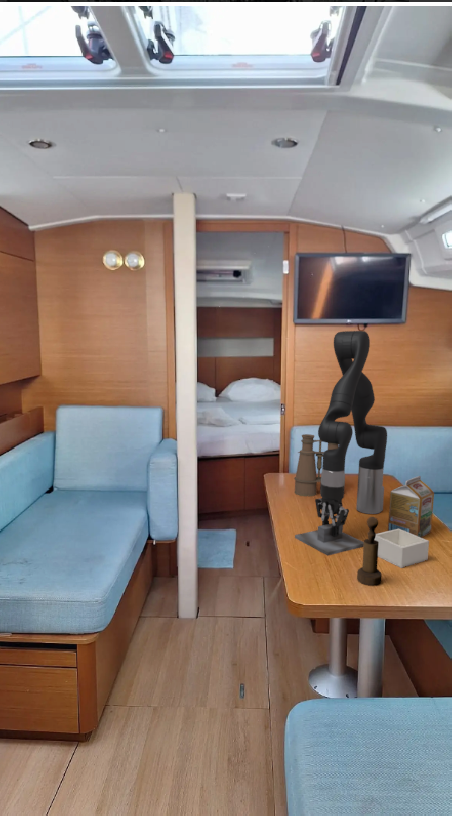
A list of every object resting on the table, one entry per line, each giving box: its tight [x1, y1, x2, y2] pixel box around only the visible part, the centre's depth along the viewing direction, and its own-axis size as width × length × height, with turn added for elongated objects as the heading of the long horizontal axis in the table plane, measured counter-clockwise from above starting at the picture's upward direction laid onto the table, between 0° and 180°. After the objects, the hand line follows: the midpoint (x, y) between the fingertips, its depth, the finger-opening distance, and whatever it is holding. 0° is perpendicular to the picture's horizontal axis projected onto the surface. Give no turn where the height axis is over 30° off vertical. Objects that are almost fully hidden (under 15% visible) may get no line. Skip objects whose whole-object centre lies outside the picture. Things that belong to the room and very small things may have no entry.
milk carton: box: [387, 475, 435, 538], centre depth 182 cm, size 11×11×19 cm
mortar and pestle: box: [356, 516, 383, 587], centre depth 145 cm, size 7×6×18 cm
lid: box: [294, 522, 364, 557], centre depth 172 cm, size 16×16×6 cm
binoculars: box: [293, 433, 339, 497], centre depth 224 cm, size 21×10×25 cm, turn 88°
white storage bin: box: [374, 529, 430, 569], centre depth 162 cm, size 12×12×6 cm
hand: (330, 533), depth 172 cm, fingers open, 4 cm apart
